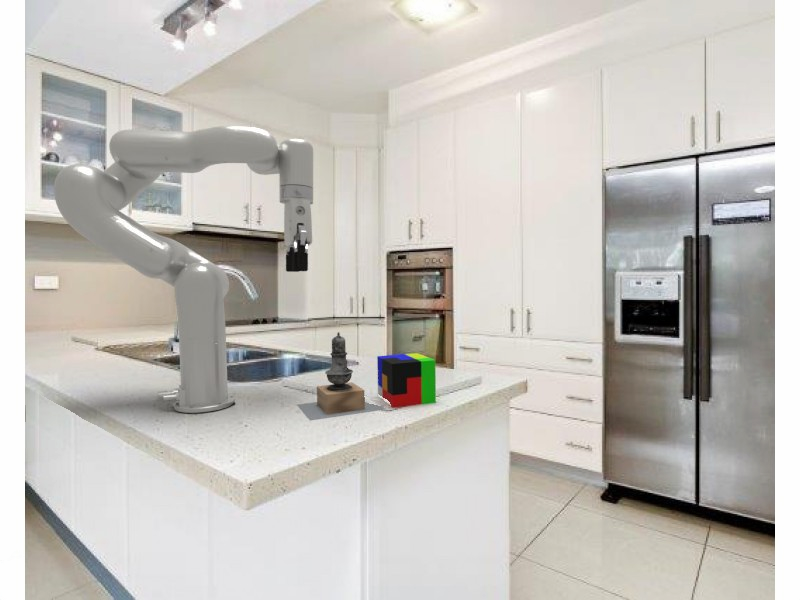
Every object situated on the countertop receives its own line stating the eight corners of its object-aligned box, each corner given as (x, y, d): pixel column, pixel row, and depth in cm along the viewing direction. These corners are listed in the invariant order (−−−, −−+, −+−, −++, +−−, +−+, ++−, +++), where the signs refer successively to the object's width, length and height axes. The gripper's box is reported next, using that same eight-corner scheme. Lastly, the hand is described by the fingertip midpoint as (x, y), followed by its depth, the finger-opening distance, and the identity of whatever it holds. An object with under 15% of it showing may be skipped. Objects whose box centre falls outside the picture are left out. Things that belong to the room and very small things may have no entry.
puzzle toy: (378, 399, 104) (377, 356, 103) (417, 394, 107) (417, 353, 107) (392, 410, 95) (391, 363, 94) (435, 405, 98) (435, 360, 98)
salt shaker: (320, 387, 96) (319, 331, 96) (345, 383, 99) (344, 329, 99) (333, 393, 91) (332, 334, 91) (358, 388, 95) (357, 332, 94)
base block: (327, 414, 90) (326, 394, 90) (317, 404, 98) (316, 386, 97) (364, 409, 94) (364, 390, 93) (352, 399, 101) (351, 382, 101)
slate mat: (309, 423, 87) (309, 420, 87) (296, 407, 98) (296, 404, 98) (386, 411, 94) (386, 409, 94) (365, 398, 104) (365, 395, 104)
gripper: (321, 191, 96) (321, 271, 97) (305, 203, 112) (305, 272, 113) (285, 187, 93) (285, 270, 94) (274, 201, 109) (274, 271, 110)
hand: (296, 271), depth 103 cm, fingers open, 9 cm apart
